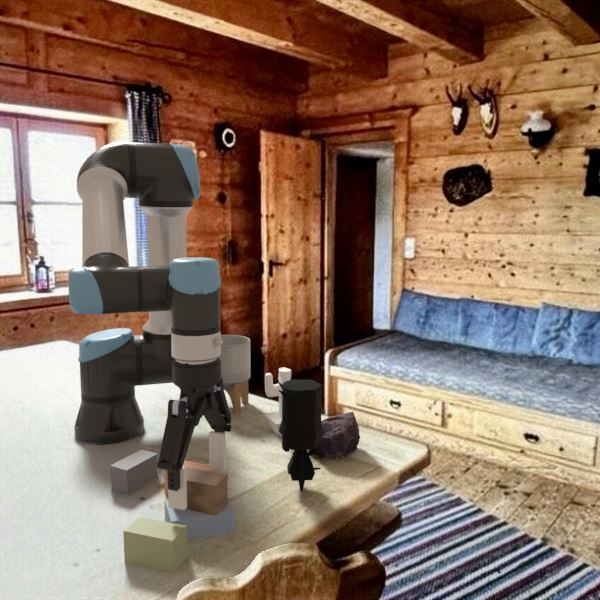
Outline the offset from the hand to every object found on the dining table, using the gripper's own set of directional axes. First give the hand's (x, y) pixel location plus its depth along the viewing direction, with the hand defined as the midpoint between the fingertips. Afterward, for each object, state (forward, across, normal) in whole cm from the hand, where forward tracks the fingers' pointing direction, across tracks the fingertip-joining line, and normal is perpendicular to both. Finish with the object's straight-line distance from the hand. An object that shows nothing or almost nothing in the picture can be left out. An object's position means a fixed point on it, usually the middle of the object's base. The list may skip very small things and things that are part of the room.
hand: (199, 486), depth 91 cm
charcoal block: (+7, +9, +18) cm, 21 cm away
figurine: (+7, +42, 0) cm, 43 cm away
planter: (+7, +53, +20) cm, 57 cm away
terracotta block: (+7, +10, +7) cm, 14 cm away
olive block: (+7, -10, +2) cm, 12 cm away
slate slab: (+7, 0, 0) cm, 7 cm away
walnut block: (+3, 0, 0) cm, 3 cm away
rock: (+7, +34, -15) cm, 37 cm away
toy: (+7, +17, -12) cm, 22 cm away
